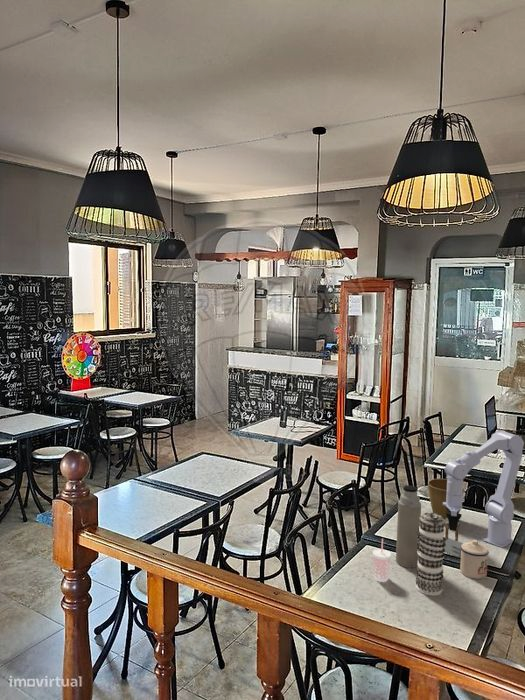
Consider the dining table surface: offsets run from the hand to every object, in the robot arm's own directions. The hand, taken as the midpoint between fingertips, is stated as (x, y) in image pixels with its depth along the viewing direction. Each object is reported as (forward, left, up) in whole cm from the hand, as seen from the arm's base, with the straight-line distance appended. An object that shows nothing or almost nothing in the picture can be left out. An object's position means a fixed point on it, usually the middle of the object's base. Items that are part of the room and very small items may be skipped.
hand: (452, 527), depth 206 cm
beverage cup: (+41, -3, -8) cm, 42 cm away
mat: (0, 0, -8) cm, 8 cm away
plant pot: (-22, -16, -8) cm, 28 cm away
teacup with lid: (+11, +15, -8) cm, 20 cm away
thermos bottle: (+24, -4, -8) cm, 26 cm away
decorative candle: (+34, +11, -8) cm, 37 cm away
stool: (0, 0, -4) cm, 4 cm away
